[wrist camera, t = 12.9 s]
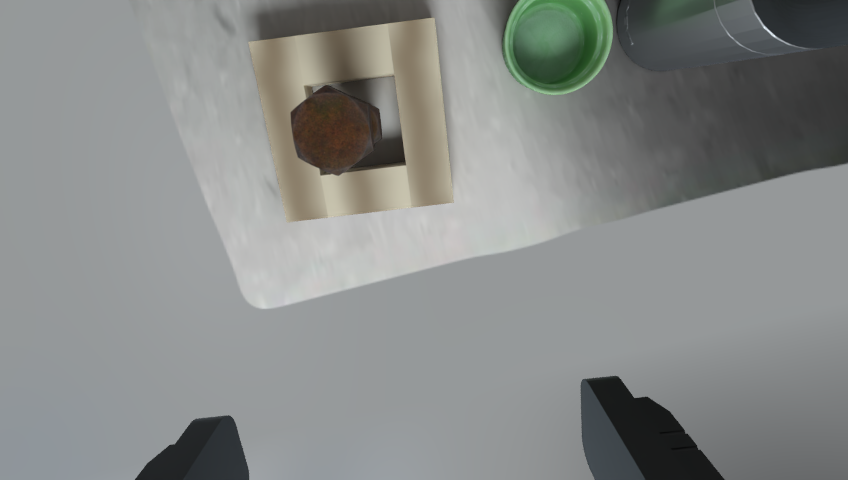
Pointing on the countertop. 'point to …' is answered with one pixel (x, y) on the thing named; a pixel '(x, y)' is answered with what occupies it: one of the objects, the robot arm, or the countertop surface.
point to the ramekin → (557, 43)
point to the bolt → (334, 130)
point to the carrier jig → (344, 62)
